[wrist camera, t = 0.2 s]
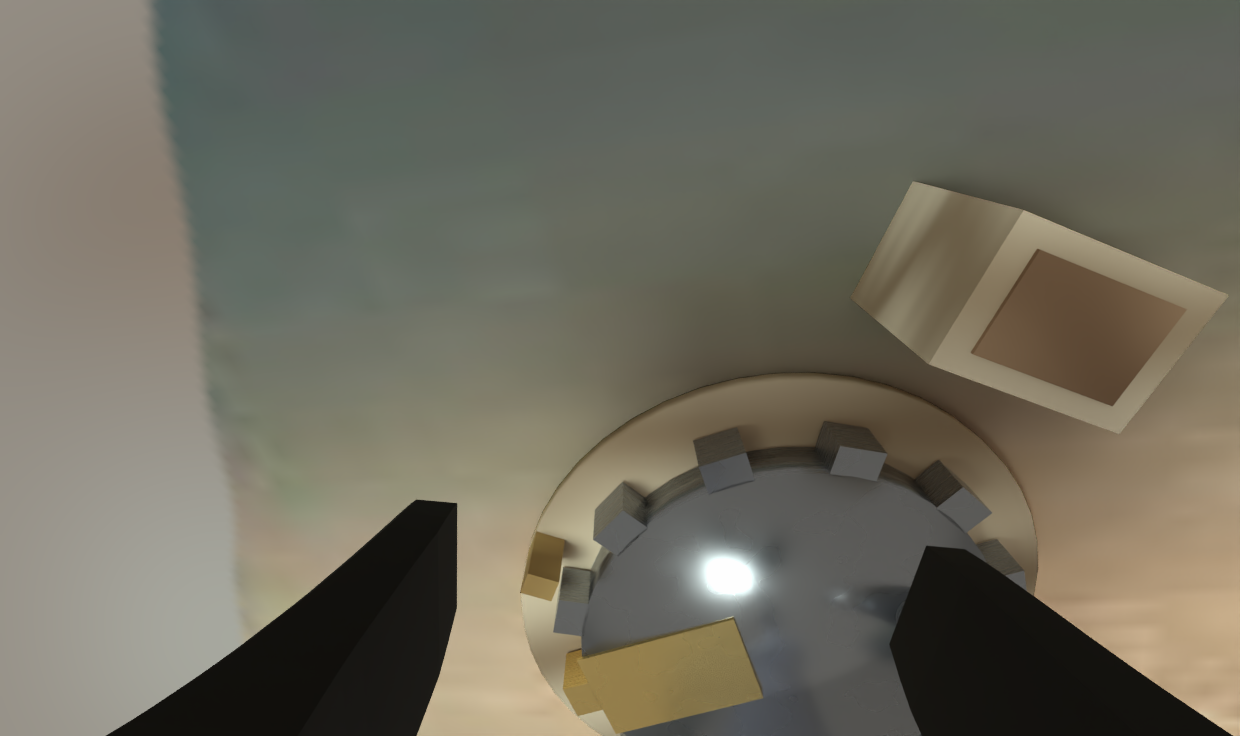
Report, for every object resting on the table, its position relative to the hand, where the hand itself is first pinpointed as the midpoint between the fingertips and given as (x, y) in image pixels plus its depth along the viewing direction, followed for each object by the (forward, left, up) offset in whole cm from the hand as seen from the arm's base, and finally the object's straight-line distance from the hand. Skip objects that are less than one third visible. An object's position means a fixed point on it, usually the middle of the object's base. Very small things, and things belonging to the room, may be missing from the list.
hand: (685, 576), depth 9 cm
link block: (-1, -9, -10) cm, 13 cm away
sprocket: (-11, -1, -10) cm, 15 cm away
